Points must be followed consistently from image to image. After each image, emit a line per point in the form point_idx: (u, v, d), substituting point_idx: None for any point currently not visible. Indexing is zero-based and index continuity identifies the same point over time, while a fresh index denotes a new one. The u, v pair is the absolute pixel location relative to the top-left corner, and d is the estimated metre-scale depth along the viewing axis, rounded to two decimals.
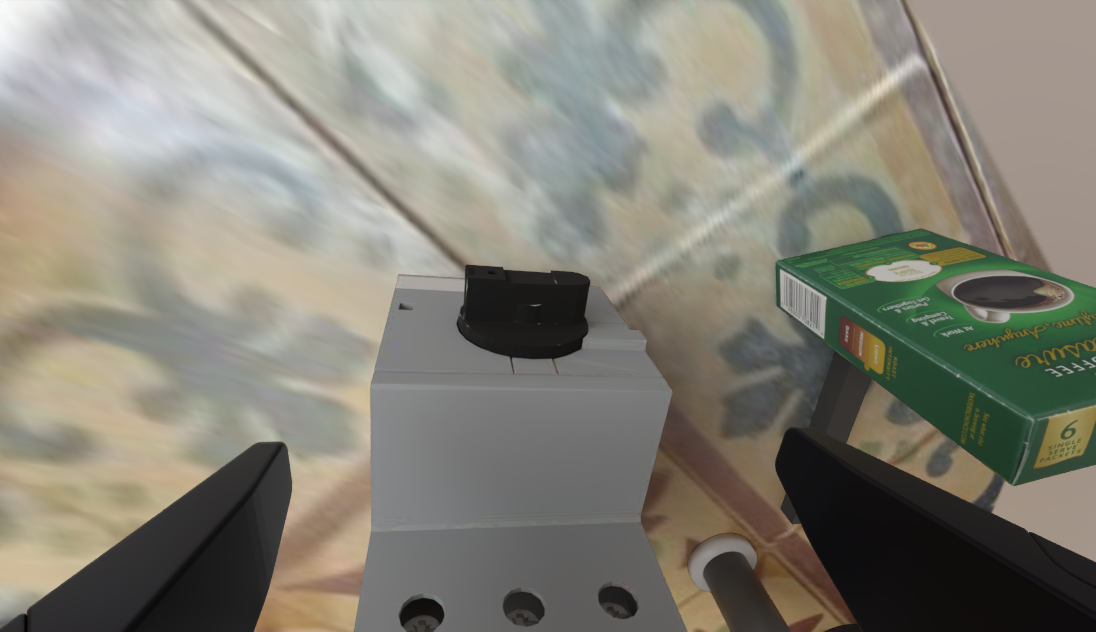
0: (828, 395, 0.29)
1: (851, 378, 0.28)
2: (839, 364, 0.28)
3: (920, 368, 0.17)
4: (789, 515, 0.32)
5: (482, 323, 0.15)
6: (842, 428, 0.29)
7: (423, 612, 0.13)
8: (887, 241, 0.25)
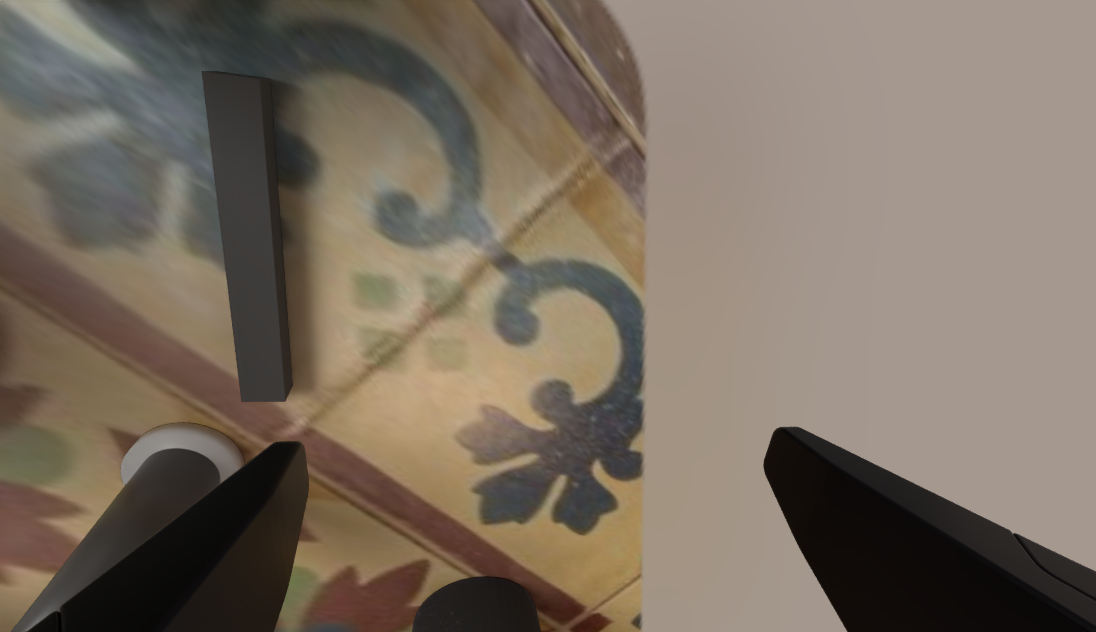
0: None
1: (220, 125, 0.17)
2: None
3: None
4: None
5: None
6: (251, 227, 0.18)
7: None
8: None
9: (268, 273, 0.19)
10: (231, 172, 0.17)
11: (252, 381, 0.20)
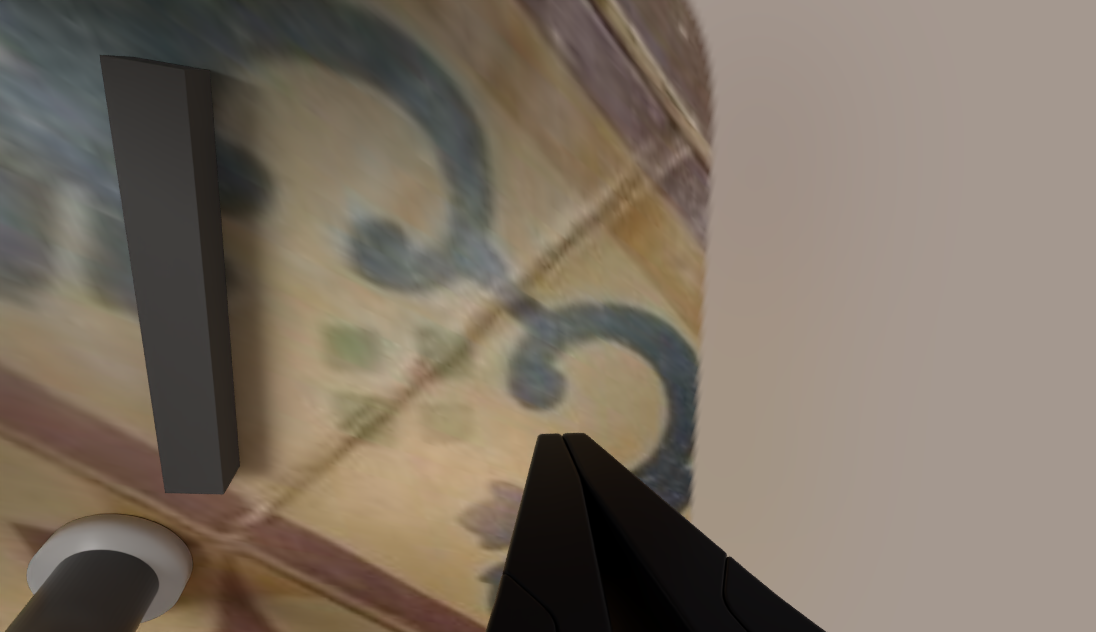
0: None
1: (129, 133, 0.12)
2: None
3: None
4: None
5: None
6: (176, 274, 0.13)
7: None
8: None
9: (199, 334, 0.14)
10: (146, 199, 0.12)
11: (179, 469, 0.15)
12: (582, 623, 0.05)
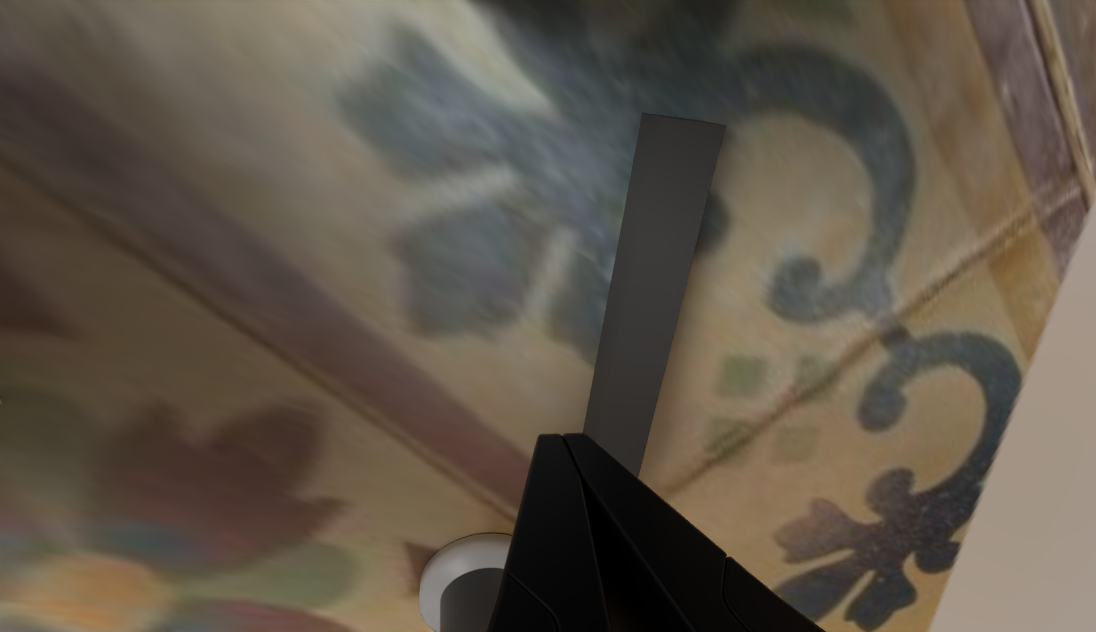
0: (627, 238, 0.14)
1: (661, 186, 0.12)
2: (642, 160, 0.13)
3: None
4: None
5: None
6: (657, 312, 0.14)
7: None
8: None
9: (657, 366, 0.15)
10: (655, 245, 0.13)
11: None
12: (582, 623, 0.05)
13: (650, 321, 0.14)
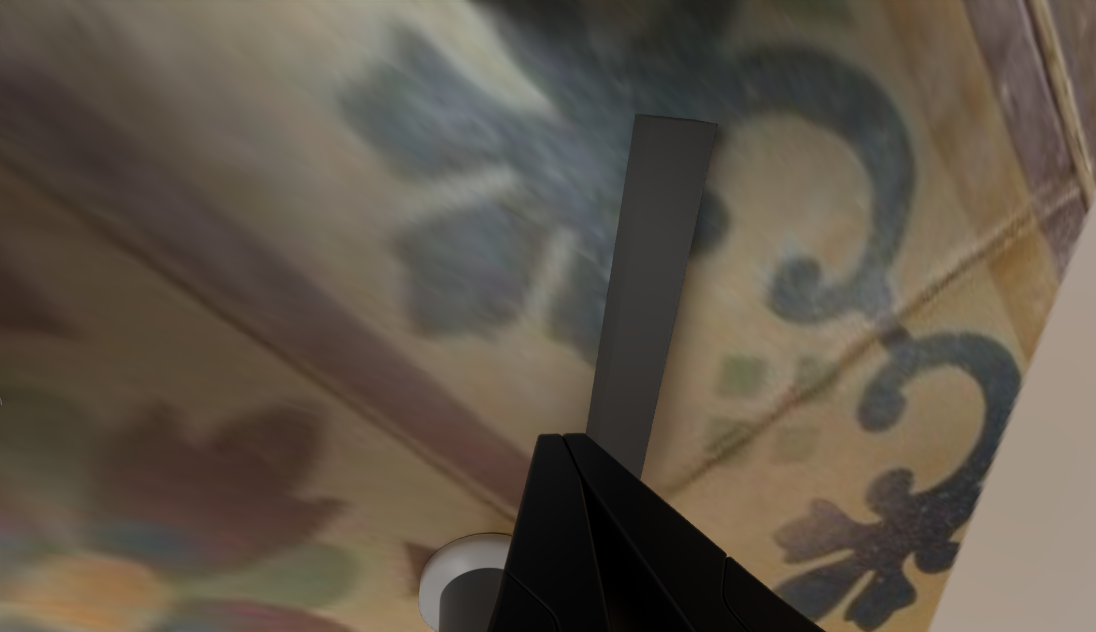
0: (622, 239, 0.14)
1: (655, 186, 0.12)
2: (635, 161, 0.13)
3: None
4: None
5: None
6: (654, 312, 0.14)
7: None
8: None
9: (656, 366, 0.15)
10: (650, 245, 0.13)
11: None
12: (582, 623, 0.05)
13: (648, 321, 0.14)
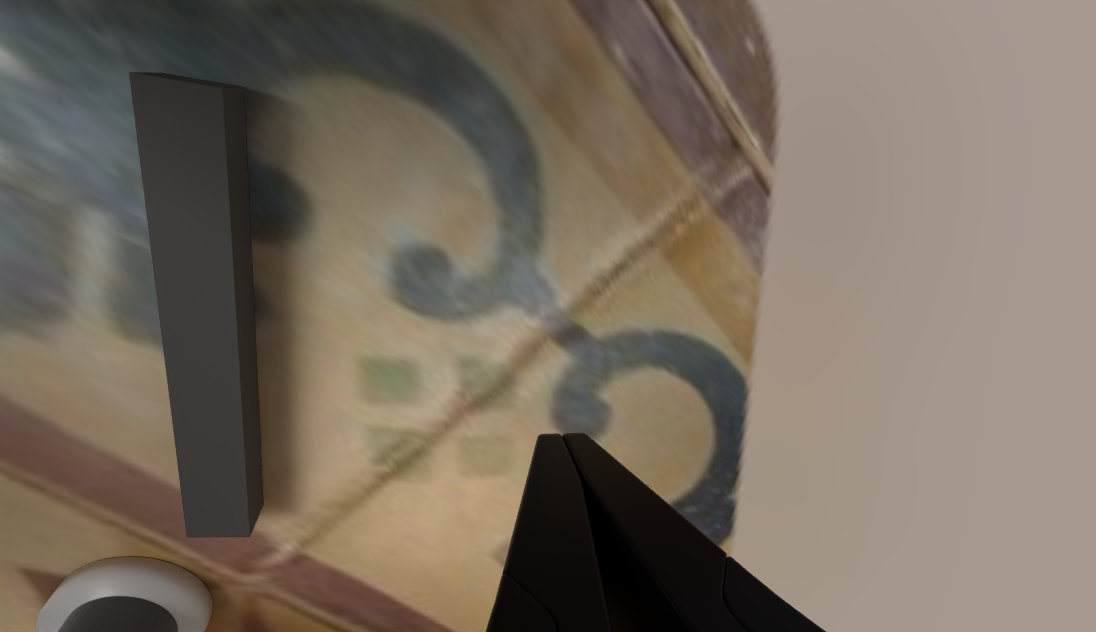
0: None
1: (159, 157, 0.11)
2: None
3: None
4: None
5: None
6: (206, 307, 0.12)
7: None
8: None
9: (229, 370, 0.13)
10: (175, 227, 0.11)
11: (203, 511, 0.14)
12: (582, 623, 0.05)
13: (200, 316, 0.12)
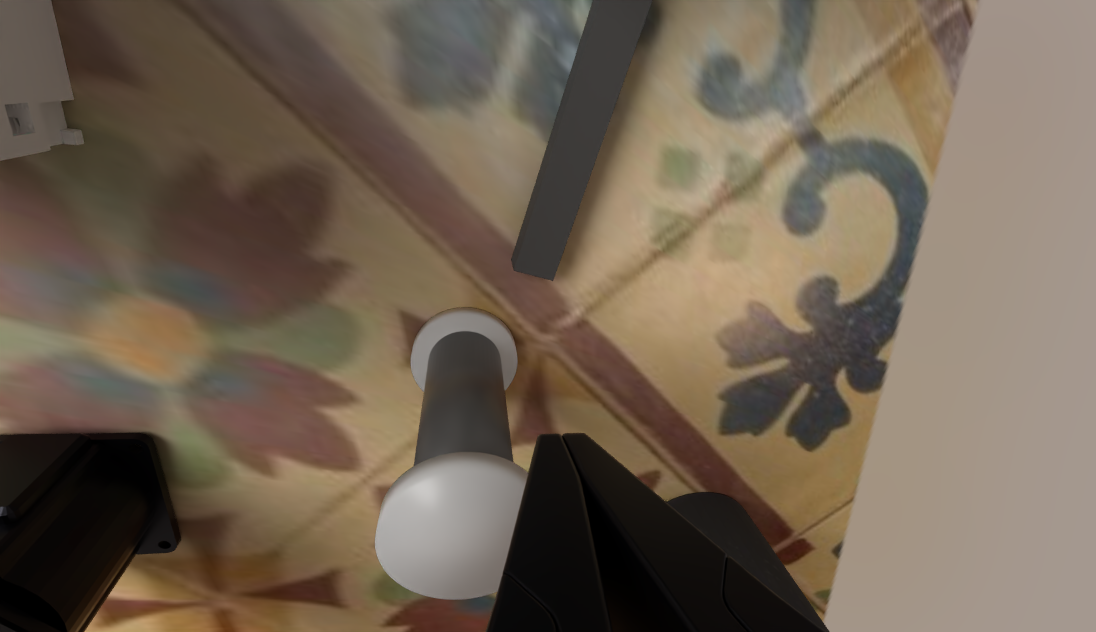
0: (590, 17, 0.17)
1: None
2: None
3: None
4: (515, 259, 0.20)
5: None
6: (603, 84, 0.17)
7: None
8: None
9: (597, 137, 0.18)
10: (611, 19, 0.17)
11: (532, 251, 0.20)
12: (582, 623, 0.05)
13: (597, 90, 0.17)
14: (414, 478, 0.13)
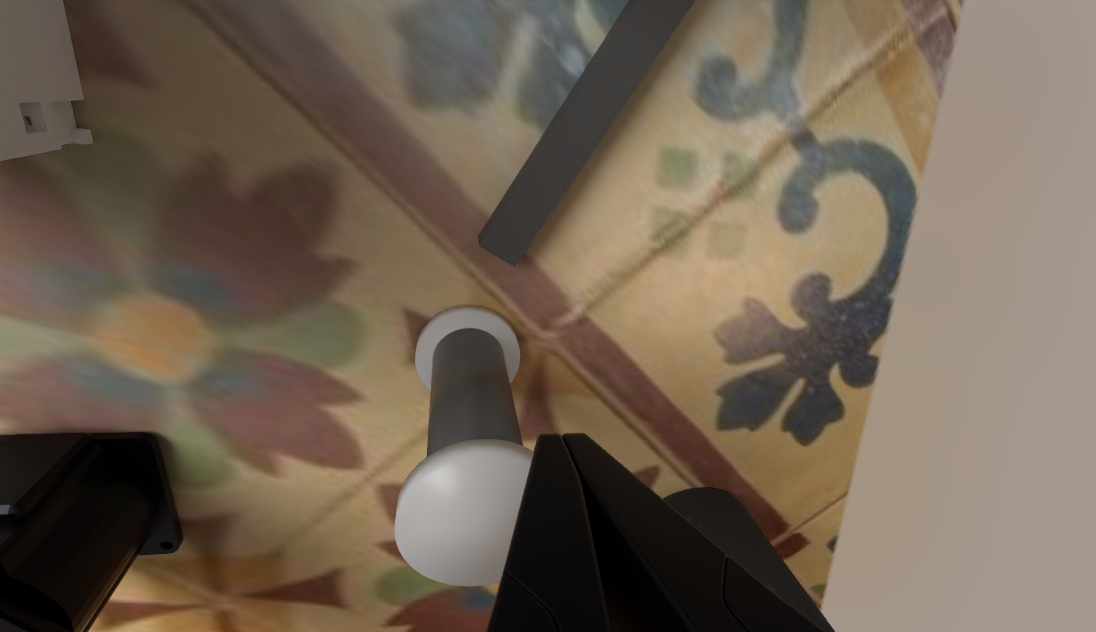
0: (615, 26, 0.18)
1: None
2: None
3: None
4: (483, 235, 0.20)
5: None
6: (612, 91, 0.18)
7: None
8: None
9: (593, 139, 0.19)
10: (634, 33, 0.17)
11: (503, 231, 0.19)
12: (582, 623, 0.05)
13: (605, 95, 0.18)
14: (432, 465, 0.13)
